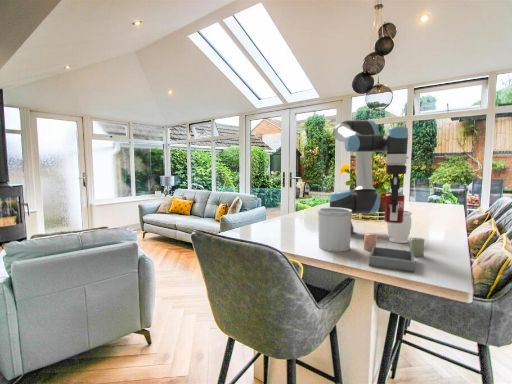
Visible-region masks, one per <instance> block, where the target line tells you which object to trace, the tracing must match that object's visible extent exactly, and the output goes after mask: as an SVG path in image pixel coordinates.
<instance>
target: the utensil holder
mask: <svg viewBox="0 0 512 384" xmlns="http://www.w3.org/2000/svg"><path fill="white" fill-rule="evenodd" d="M317 213H318V214H317V215H318V216H317V218H318V222H317V223H318V247H319V248H320V249H322V250H324V251H328V252H339V253H340V252H346V251H349V250H350V248H351V235H352V234H351V222H352V214H353V213H352V210H351V209H347V208H337V207H330V206H329V207H319V208H318V209H317Z"/></svg>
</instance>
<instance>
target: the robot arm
mask: <svg viewBox="0 0 512 384" xmlns="http://www.w3.org/2000/svg"><path fill="white" fill-rule="evenodd" d="M378 131H379V130H378V126H377V124H376V122H375V121H373V120H368V119H362V120H360V119H359V120H344V121H341V122H339V123H337V124H336V125H335V127H334V128H333V132H332V134H333V137H334V138H335V140H337V141H339V142H343V143H344V150H345V151H346V152H349V153H350V152H352V153H355V174H356V175H355V180H356V181H355V182H356V183H355V184H356V187H355V188H354V189H353V192H352V190H337V191H333V192H331V193H330V195H329V207H337V208H347V209H351V210H352V214H353V215H354V214H360V215H361V214H362V215H363V214H366V215H368V214H376V213H377V212H378V210H379V209H380V205H381V195H380V193H378V192H377V191H376V188H375V187H374V185H373V161H372V160H373V159H372V157H373V156H372V153H375V152H376V153H377V152H379V153H381V152H382V153H386V159H385V160H386V162H385V163H386V164H387V165H386V166H385V171H386V172H385V174H386V175H392V178H390V179H389V180H390V190H391V192H390V194H391V203H389V205H391V206H390V220H393V221H397V214H398V194H399V191H400V187H401V183H402V182H401V181H402V178H399V177H400V176H399V175H407V165H406V164H407V161H408V159H409V156H408V154H407V153H408V146H409V145H408V144H409V143H408V141H409V128H408V127H406V126H393V127H389V128H388V129H387V134H379V133H378ZM354 231H355V230H354V226H353V222H352V221H351V234H350V235H352V234H353V233H354Z"/></svg>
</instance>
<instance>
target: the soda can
mask: <svg viewBox="0 0 512 384" xmlns="http://www.w3.org/2000/svg"><path fill="white" fill-rule="evenodd" d="M405 197H406V196H405V194H403V193H402V194H401V193H398V214H397V221H393V220H390V206H391V205H389V203H391V193H386V194H385V196H384V199H385V200H384V201H385V202H384V219H383V220H384V223H386V224H387V223H391V224H402V223H403V218H404V211H405Z"/></svg>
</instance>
